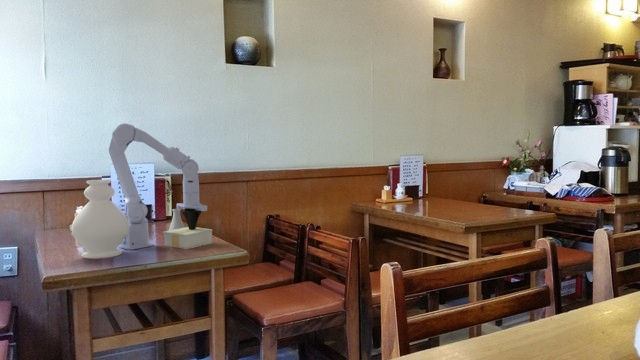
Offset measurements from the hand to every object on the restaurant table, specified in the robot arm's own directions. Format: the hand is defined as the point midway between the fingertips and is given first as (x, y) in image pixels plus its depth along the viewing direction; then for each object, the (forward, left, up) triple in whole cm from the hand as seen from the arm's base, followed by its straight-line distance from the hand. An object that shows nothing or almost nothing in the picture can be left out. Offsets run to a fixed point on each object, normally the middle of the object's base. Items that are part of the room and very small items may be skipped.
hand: (192, 229), depth 192 cm
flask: (+12, +23, -6) cm, 27 cm away
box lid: (-2, 0, -1) cm, 2 cm away
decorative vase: (-29, +12, -6) cm, 32 cm away
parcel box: (-2, 0, -5) cm, 6 cm away
